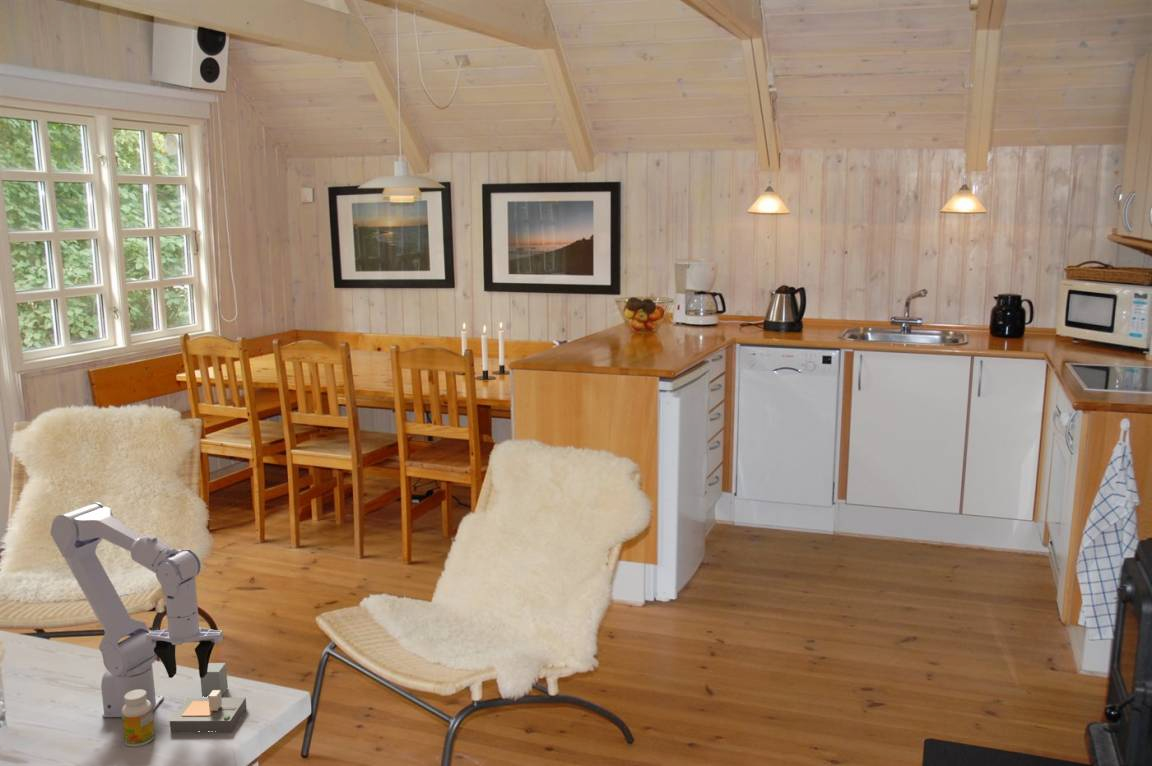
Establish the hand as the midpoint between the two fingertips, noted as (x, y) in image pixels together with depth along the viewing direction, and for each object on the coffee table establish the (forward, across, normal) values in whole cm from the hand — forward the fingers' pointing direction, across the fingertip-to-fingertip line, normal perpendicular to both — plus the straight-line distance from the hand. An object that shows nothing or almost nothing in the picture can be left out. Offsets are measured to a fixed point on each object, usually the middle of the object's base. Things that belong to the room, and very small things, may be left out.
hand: (188, 675), depth 192 cm
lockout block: (+10, 0, +11) cm, 15 cm away
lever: (+7, +5, 0) cm, 9 cm away
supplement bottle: (+10, -8, -7) cm, 14 cm away
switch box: (+10, +4, 0) cm, 11 cm away
